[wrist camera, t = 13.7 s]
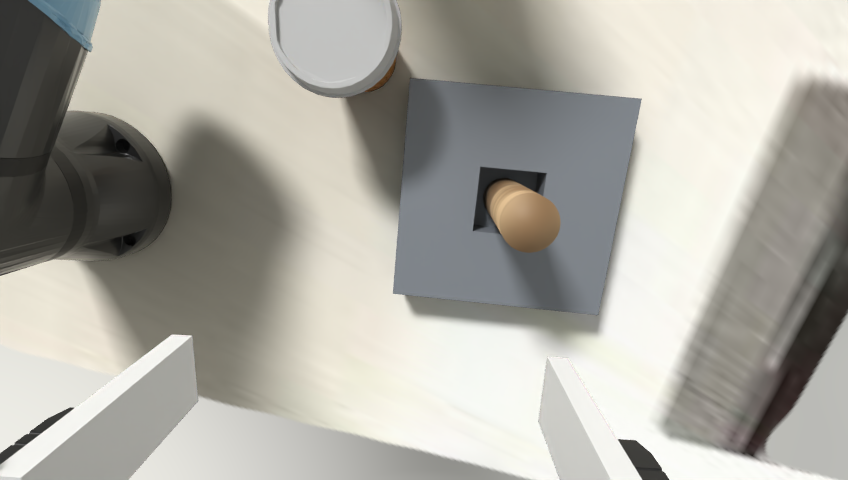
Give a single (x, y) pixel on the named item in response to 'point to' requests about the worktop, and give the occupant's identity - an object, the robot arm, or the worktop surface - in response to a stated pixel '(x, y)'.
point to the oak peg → (521, 215)
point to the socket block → (524, 163)
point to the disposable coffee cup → (336, 43)
